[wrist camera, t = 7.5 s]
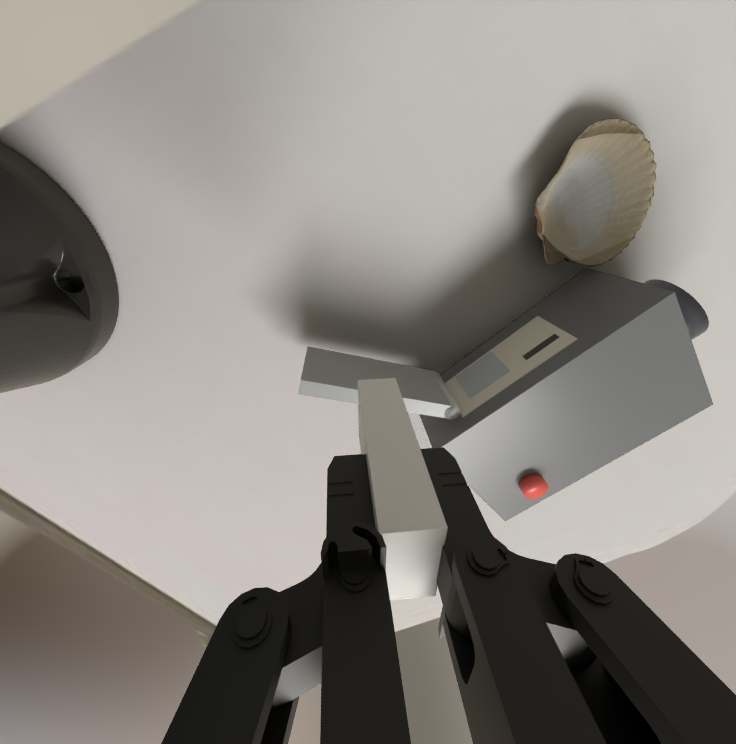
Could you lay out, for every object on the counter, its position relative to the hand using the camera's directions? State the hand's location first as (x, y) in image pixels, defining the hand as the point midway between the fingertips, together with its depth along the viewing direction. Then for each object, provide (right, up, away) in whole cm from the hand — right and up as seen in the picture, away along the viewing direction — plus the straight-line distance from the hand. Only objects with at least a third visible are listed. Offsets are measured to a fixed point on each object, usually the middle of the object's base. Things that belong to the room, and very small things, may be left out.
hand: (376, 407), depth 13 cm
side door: (0, +2, +12) cm, 12 cm away
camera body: (+13, +2, +14) cm, 19 cm away
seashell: (+14, +13, +9) cm, 21 cm away
